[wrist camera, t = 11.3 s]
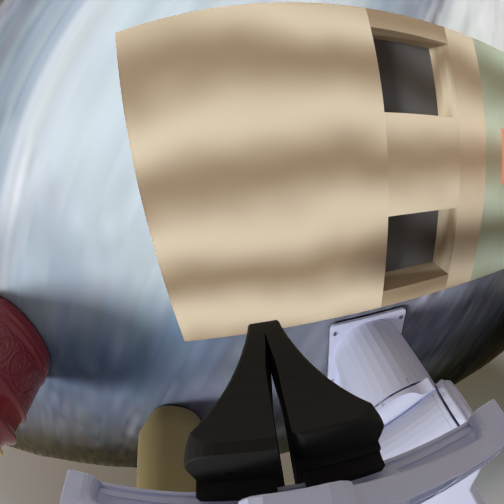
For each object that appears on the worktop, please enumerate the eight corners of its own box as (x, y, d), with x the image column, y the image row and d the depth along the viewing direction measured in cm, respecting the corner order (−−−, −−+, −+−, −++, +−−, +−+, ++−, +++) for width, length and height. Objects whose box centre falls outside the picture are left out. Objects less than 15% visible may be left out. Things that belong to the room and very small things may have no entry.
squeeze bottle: (153, 430, 31) (139, 547, 15) (135, 396, 28) (108, 537, 11) (212, 432, 31) (214, 556, 15) (204, 399, 28) (201, 552, 12)
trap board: (508, 250, 24) (532, 266, 20) (188, 318, 23) (182, 354, 19) (512, 67, 15) (540, 68, 11) (130, 44, 14) (106, 26, 10)
